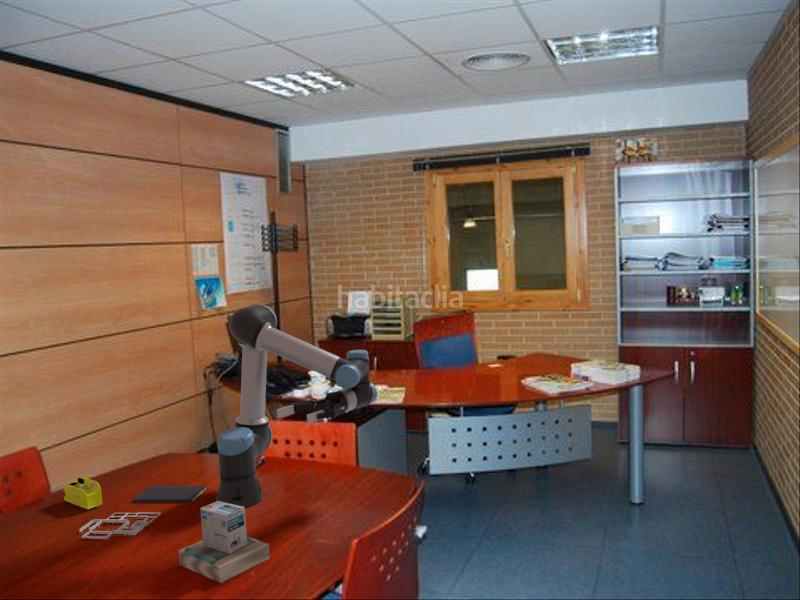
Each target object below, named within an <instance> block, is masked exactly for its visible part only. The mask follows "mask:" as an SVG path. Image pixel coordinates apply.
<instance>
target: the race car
mask: <svg viewBox="0 0 800 600" xmlns="http://www.w3.org/2000/svg"><path fill="white" fill-rule="evenodd" d="M266 458H267V457H266V454H265V452H264V453H262V454H261V455H260V456H258V457H257V458H256V459H255V469H257V468H258V467H260V466H261V465H264V464H265V463H266V461H267V460H266Z"/></svg>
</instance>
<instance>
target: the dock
mask: <svg viewBox="0 0 800 600" xmlns="http://www.w3.org/2000/svg"><path fill="white" fill-rule="evenodd" d="M270 558H271V557H270V544H269V543H266V542H264V541H261V540H259V539H256V538H253V537H251V536H248V535H247V545H246V546H244V547H242V548H240V549H238V550H236V551H234V552H232V553H230V554H228V553H225V552H222V551H218V550H215V549H212V548H209V547H205V546H203V539H202V540H199V541H197V542H195V543H193V544H191V545H188V546H186V547H183V548H181V549H179V550H178V561H179V566H182V567H184V568H186V569H188V570H190V571H192V572H194V573H195V572H196V573H197V574H199V575H202V576H203V577H206V578H208V579H211V580H213V581H215V582H218V583H220V584H222V583H224V582H226V581H228V580H229V579H232V578H234V577H236V576H237V575H239V574H242V573H244V572H246V571H247V570H249V569H251V568H253V567H256V566H258V565H259V564H262V563H264V562H265V561H267V560H270Z"/></svg>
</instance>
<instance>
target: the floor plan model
mask: <svg viewBox="0 0 800 600" xmlns="http://www.w3.org/2000/svg"><path fill="white" fill-rule="evenodd" d="M114 514H125V515H115V516H113V515H114ZM128 514H136V515H128ZM138 514H151V515H152V514H153V515H154V514H158V515H154V516H153V515H152V516H151V515H139V516H137V515H138ZM160 514H161V515H162V512H161V511H160V512H152V511H151V512H145V511H144V512H139V511H138V512H114V513H112V514H111V515H110V516H109V517H107V518H105V519H102V518H100V519H98V518H97V519H96V518H95V519H92V520H90V521H89V522H87V523H86V524H84V525H83V526H81V527H80V528H79V529H78V530H79V533H80V532H82V531H83V530H84V529H86V528H87V527H89V526H90V525H91V524H93V523H96V524H94V525H92V526H91V527H89V528H88V530H89V531H87V532H86V533H84V534H83V535H82V536H81V538H89V539H92V538H93V539H107V538H108V537H110V536H111V535H112V534H124V535H123V536H136V534H137V533H138V532H139V533H140V532H141V531H143V530H144V529H145V528H146V527H147V526H149V525H150V524H151V523H153V522H154V521H155V520H156V519H157V518H158V517H157V516H159V515H160ZM127 515H128V516H127ZM161 515H160V516H161ZM160 516H159V517H160ZM110 517H111V518H115V517H121V518H119V519H109V518H110ZM125 517H141V518H140V519H138V520H136V521H135V522H134V523H132V524H131V522H130V520H129V518H125ZM142 517H147V518H142ZM156 517H157V518H156ZM124 518H125V519H124ZM148 518H153V519H148ZM155 518H156V519H155ZM141 519H143V520H141ZM147 519H148V520H149V521H148V520H147ZM154 519H155V520H154ZM146 520H147V521H146ZM153 520H154V521H153ZM152 521H153V522H152ZM103 522H108V523H111V522H112V523H124V524H121V526H119V527H118V528H116V530H113V529H112V530H96V529H95V528H96V527H97V526H99V525H100V524H101V523H102V524H103ZM150 522H151V523H150ZM149 523H150V524H149ZM129 524H131V525H129ZM148 524H149V525H148ZM127 525H128V526H127ZM137 525H138V526H137ZM146 525H147V526H146ZM126 526H127V527H126ZM145 526H146V527H145ZM99 527H100V526H99ZM144 527H145V528H144ZM143 528H144V529H143ZM93 529H95V530H94V531H92V530H93ZM122 529H129V530H122ZM131 529H132V530H131ZM140 530H141V531H140ZM82 533H83V532H82ZM90 533H94V534H97V533H98V534H108V535H89V534H90ZM139 533H138V534H139ZM127 534H128V535H127ZM87 535H89V536H87ZM112 536H113V535H112ZM112 536H111V537H112ZM111 537H110V538H111ZM81 538H80V539H81ZM108 539H109V538H108ZM108 539H107V540H108Z"/></svg>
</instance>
